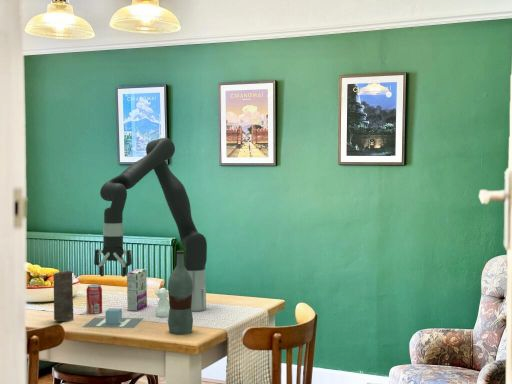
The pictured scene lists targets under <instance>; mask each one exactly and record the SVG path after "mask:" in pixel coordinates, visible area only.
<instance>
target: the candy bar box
mask: <svg viewBox="0 0 512 384" xmlns="http://www.w3.org/2000/svg"><path fill="white" fill-rule="evenodd" d="M126 284H127V285H126V290H127V293H126V294H127V297H126V298H127V311H128V312H139V311H141V310H142V309H144V308H145V307H147V306H148V299H147V298H148V296H147V295H148V294H147V288H148V287H147V284H148V283H147V269H146V268H136V269H134V270H131V271H129V272H127V275H126Z"/></svg>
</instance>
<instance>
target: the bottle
mask: <svg viewBox="0 0 512 384" xmlns="http://www.w3.org/2000/svg"><path fill="white" fill-rule="evenodd" d="M184 253H185V251H184V250H177V251H176V266H175V268H174V269H173V271H172V272H171V274H170V275H169V278H168V283H167V291H168V300H169V316H168V317H167V324H168V326H167V327H168V331H169V333H170V334H172V335H186V334H191V333H192V331H193V326H194V325H193V324H194V319H193V311H192V309H191V304H192V292H193V284H192V278H191V276H190V274H189V273H188V271H187V269H186V268H185V266H184V262H185V258H184V257H185V254H184Z"/></svg>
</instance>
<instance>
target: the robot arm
mask: <svg viewBox="0 0 512 384" xmlns="http://www.w3.org/2000/svg"><path fill="white" fill-rule="evenodd" d="M145 146H146V147H145V153H146V155H145V156H143V157H142V158H141V159H139V160H137V161H135V162H134V163H132V164H131V165H129V166H127V168H125V170H123V171H122V172H121V173H120V174H119V175H117V176H115V177H112V178H111V179H110V180H108V181H105V183H104V184H103V185H102V186H101V188H100V190H99V195H100V198H102V200H104V201H106V202H111V204H110V207H106V208H105V209H104V211H103V231H102V234H103V235H102V236H103V238H102V239H103V240H102V249H99V248H97V249H95V250H94V258H93V259H94V260H93V261H94V262H93V264H94V265H95V266H98V275H99V276H100V277H104V276H105V266H104V265H105V263H106V262H107V261H108V262H111V261H112V262H118V263H119V264H121V266H122V268H121V276H122V278H124V277H126V276H127V273H128V267H129V266H131V265H132V264H133V260H132V259H133V257H132V250H131V249H127V250H124V227H123V226H124V223H123V214H124V209H125V205H126V201H127V198H128V190H130V189H132V188H133V187H135V186H136V185H137V184H138V183H139V182H140V181H141V180H142V179H143V178H145V177H146V176H147V175H148V174H149V173H150V172H152V171H153V170H154V171H153V172H154V173H155V175H156V177H157V180H158V183H159V184H160V185H159V186H160V187H161V190H162V192H163V195H164V199H165V201H166V204H167V207H168V209H169V211H170V214H171V216H172V218H173V219H174V220H173V221H174V222H175V225H176V227H177V230H178V233H179V238H180V241H181V242H180V244H181V246H182V248H183V249H184V250H185V259H184V266H185V268H186V269H187V271H188V273H189V274H190V276H191V278H192V284H193V292H192V304H191V309H192V312H199V311H206V308H207V286H206V264H207V257H208V256H207V255H208V243H207V242H208V241H207V238H206V237H205V235H204V234H202V233H200V232H199V231H198V230H197V228H196V225H195V222H194V220H193V217H192V211H191V210H192V208H191V203H190V198H189V196H188V192H187V191H186V190H187V189H186V188H185V185H184V184H183V182H181V181H180V180H179V178H177V176H176V175H175V174H174V173H172V170H171V169H170V168H169V165H168V163H167V161H168V160H169V159H172V157H174V154H175V150H176V148H175V147H176V146H175V143H174V142H173V141H172V140H171V139H170V138H168V137H162V138H157V139H154V140H152V141H149V142H148V143H147V144H146V145H145ZM100 255H103V258H102V259H101V261H100ZM123 255H125V256H126V260H125V258H124V257H123Z"/></svg>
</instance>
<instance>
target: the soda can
mask: <svg viewBox="0 0 512 384" xmlns="http://www.w3.org/2000/svg"><path fill="white" fill-rule="evenodd" d="M102 313H103V288H102V286H101V285H100V284H89V285H87V287H86V314H88V315H99V314H102Z"/></svg>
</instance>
